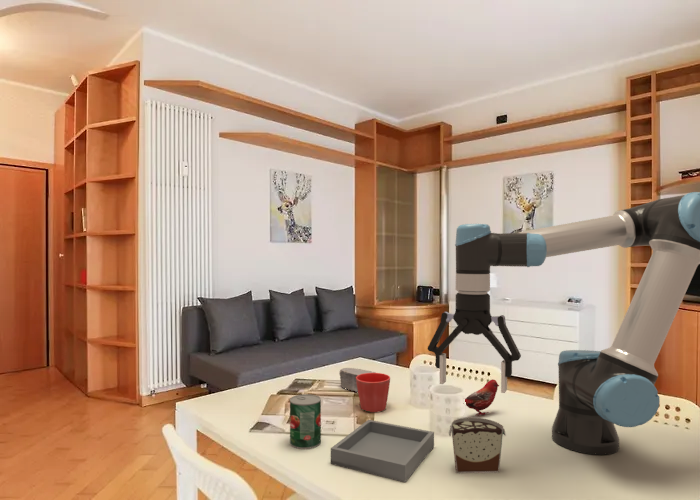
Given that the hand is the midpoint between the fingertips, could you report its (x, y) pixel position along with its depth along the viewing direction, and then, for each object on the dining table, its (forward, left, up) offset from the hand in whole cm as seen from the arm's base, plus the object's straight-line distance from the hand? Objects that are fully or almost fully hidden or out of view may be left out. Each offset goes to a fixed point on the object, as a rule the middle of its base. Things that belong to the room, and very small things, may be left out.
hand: (472, 387), depth 101 cm
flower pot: (+36, -24, -18) cm, 47 cm away
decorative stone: (+48, -39, -18) cm, 65 cm away
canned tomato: (+40, +7, -18) cm, 45 cm away
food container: (0, 0, -18) cm, 18 cm away
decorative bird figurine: (+6, -32, -18) cm, 37 cm away
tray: (+20, +4, -18) cm, 27 cm away
